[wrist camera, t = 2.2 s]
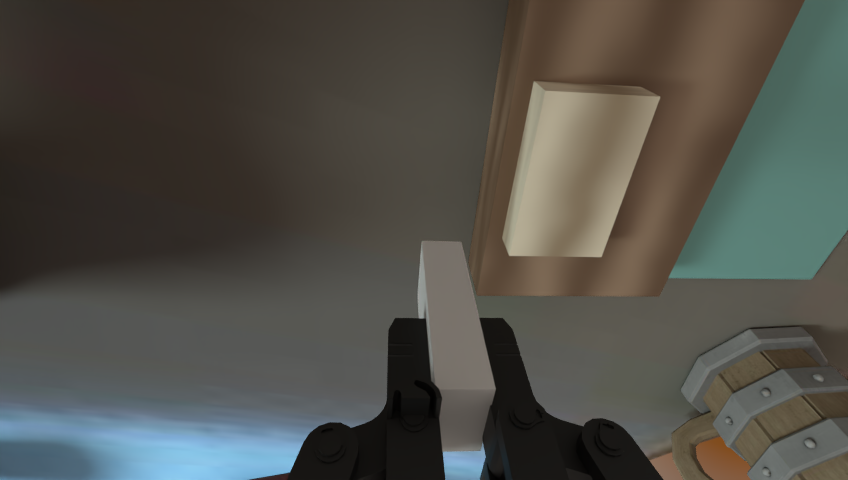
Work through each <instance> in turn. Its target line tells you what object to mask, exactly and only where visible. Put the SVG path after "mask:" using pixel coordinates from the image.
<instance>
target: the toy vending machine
mask: <svg viewBox="0 0 848 480" xmlns="http://www.w3.org/2000/svg"><path fill="white" fill-rule="evenodd" d="M289 474H290V473H287V474H281V475H275V476H269V477H263V478H257V479H251V480H287V478H288V476H289Z"/></svg>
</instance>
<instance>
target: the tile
mask: <svg viewBox="0 0 848 480" xmlns="http://www.w3.org/2000/svg"><path fill="white" fill-rule="evenodd" d="M659 100H660V96H658V95H656V94H654V93H652V92H650V91H648V90H646V89H644V88H642V87H636V86H617V85H599V84H580V83H562V82H544V81H534V83H533V88H532V93H531V98H530V103H529V108H528V113H527V117H526V122H525V127H524V132H523V137H522V142H521V147H520V152H519V157H518V162H517V167H516V172H515V177H514V182H513V187H512V192H511V197H510V202H509V207H508V212H507V217H506V221H505V226H504V231H503V236H502V239H503V242H504V244H505V247H506V249H507V251H508V254H509V256H553V257H602V254H603V252H604V249H605V246H606V244H607V241H608V238H609V235H610V233H611V230H612V227H613V224H614V222H615V219H616V216H617V214H618V211H619V208H620V205H621V203H622V200H623V197H624V195H625V192H626V189H627V186H628V184H629V181H630V178H631V176H632V173H633V170H634V167H635V165H636V162H637V159H638V157H639V154H640V151H641V148H642V146H643V143H644V140H645V138H646V135H647V132H648V129H649V127H650V124H651V121H652V119H653V116H654V113H655V110H656V108H657V105H658V102H659Z"/></svg>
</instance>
